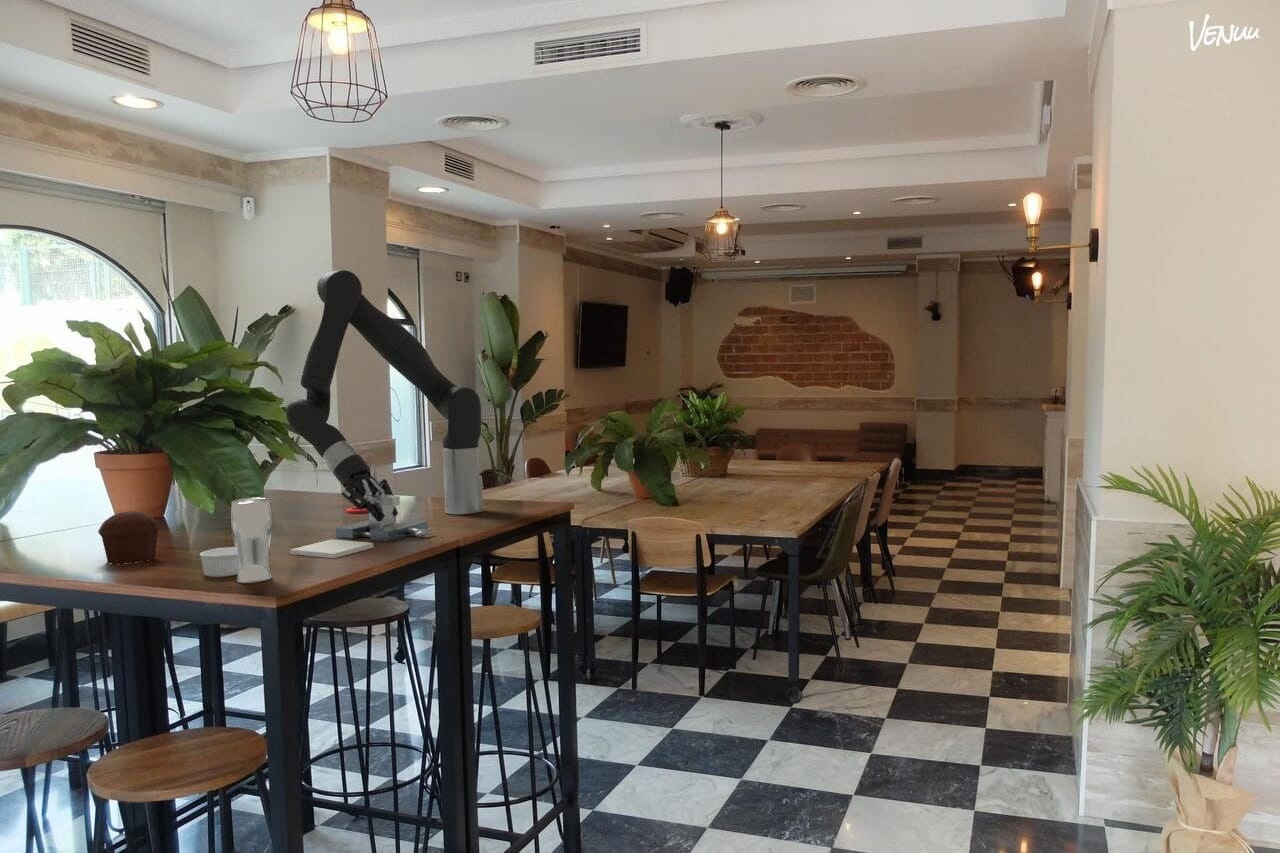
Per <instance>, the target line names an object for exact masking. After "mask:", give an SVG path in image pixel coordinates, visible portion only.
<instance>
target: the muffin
mask: <svg viewBox="0 0 1280 853" xmlns="http://www.w3.org/2000/svg"><path fill="white" fill-rule="evenodd" d="M161 528H162V526H161V525H160V524H159V522H158V521H157V520H156V519H155V518H154V517H153V516H151V515H149V514H147V513H145V512H142V511H136V510H135V511H122V512H119V513H115V514H113V515H111V516H110V517H108V518H107V519H105V521H103V523H102V524H101V525H100V527H99V528H98V530H97V533H98V534H99V535H100V536H101V540H102V543H103V544H102V545H103V548H104V551H105V556H106V561H107V563H108V564H109V563H114V564H113V565H115V564H124V563H135V562H141V561H147V560H150V559H152V560H154V559H153V558H156V551H157V550H156V549H157V543H158V535H159V534H158V532H159V531H160V529H161ZM150 561H151V560H150ZM147 562H148V561H147ZM141 563H142V562H141ZM124 565H125V564H124Z"/></svg>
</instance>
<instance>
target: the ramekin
mask: <svg viewBox="0 0 1280 853" xmlns="http://www.w3.org/2000/svg"><path fill="white" fill-rule="evenodd" d="M199 557H200V559H201V564H202V571H203V575H204V576H206V577H211V578H221V577H223V578H224V577H230V576H231V577H232V576H237V574H238V556H237V552H236V548H235V546H230V547H217V548H212V549H208V550H204V551H202V552H200V553H199Z"/></svg>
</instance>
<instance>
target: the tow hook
mask: <svg viewBox="0 0 1280 853" xmlns="http://www.w3.org/2000/svg"><path fill="white" fill-rule="evenodd" d="M371 467H372V468H371V469H372V471H371V476H372V477H374V478H375V479H376V480H377V481H378V477H377V476H378V474H377V471H376V463H371ZM377 494H378V492H377V493H376V495H377ZM345 513H346V514H360V513H361V514H362V513H369V511H367V510H365V509H362V510H360V509H358V508H357V507H356V506H353V507H348V508H346V509H345Z"/></svg>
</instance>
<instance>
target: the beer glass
mask: <svg viewBox="0 0 1280 853" xmlns="http://www.w3.org/2000/svg"><path fill="white" fill-rule="evenodd" d="M230 503H231V511H230V514H231V517H230V519H231V520H230V522H231V525H230V526H231V532H232V540H233V544H234V547H235V548H236V552H237V556H238V574H237V575H236V582H237V583H240V584H258V583H263V582H267V581H270V580H271V579H272V578H273V575H272V571H271V568H270V561H269V555H270V554H269V553H270V546H271V545H270V544H271V537H272V529H273V528H272V525H273V524H272V521H273V520H272V511H271V506H270V504H271V503H270V499H269V498H266V497H249V498H248V497H247V498H239V499H234V500H232V501H231V502H230Z"/></svg>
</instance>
